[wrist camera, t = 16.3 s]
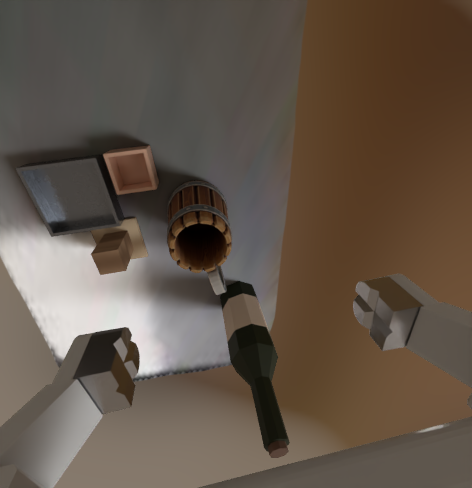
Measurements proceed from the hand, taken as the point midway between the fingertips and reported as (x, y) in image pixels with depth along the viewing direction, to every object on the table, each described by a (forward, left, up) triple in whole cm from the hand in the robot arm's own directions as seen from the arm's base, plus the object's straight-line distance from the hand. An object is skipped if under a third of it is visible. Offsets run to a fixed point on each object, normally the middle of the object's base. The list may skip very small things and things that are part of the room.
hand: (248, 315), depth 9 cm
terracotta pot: (+1, -11, -37) cm, 39 cm away
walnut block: (+13, -17, -36) cm, 43 cm away
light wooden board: (+13, -17, -37) cm, 43 cm away
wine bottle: (+32, +3, -37) cm, 49 cm away
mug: (+12, -2, -37) cm, 39 cm away
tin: (+4, -21, -37) cm, 43 cm away
